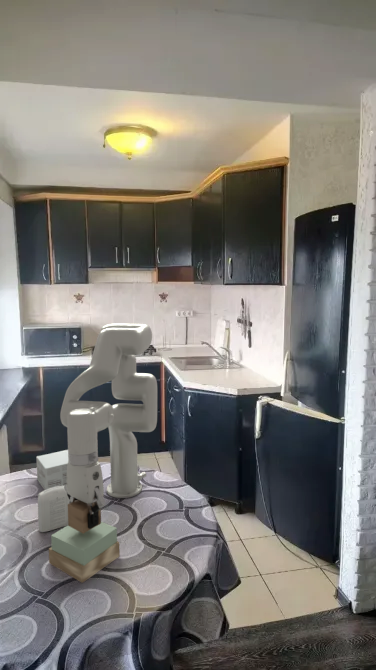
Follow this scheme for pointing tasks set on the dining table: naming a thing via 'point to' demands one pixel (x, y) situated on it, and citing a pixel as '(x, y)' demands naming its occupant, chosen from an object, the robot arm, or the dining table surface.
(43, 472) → the supplement box
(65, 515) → the photo printer
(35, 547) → the dining table surface
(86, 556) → the sage top block
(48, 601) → the dining table surface
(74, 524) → the walnut cube
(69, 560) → the maple base block
